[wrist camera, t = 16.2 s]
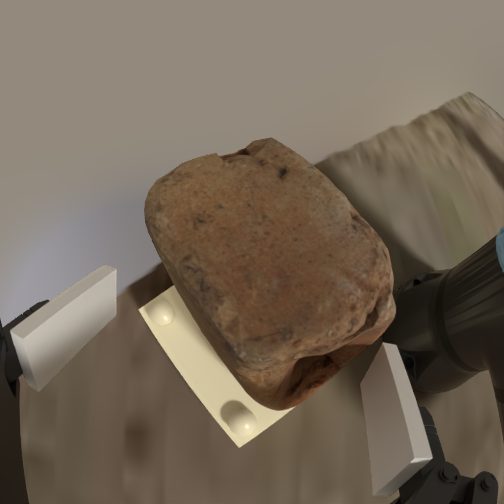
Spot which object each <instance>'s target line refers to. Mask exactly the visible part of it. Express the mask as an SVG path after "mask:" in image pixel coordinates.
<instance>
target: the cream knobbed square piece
mask: <svg viewBox="0 0 504 504" xmlns="http://www.w3.org/2000/svg"><path fill="white" fill-rule="evenodd" d="M139 311H140V313H141V315H142V316H143V318H144V320H145V321H146V323H147V324H148V326H149V328H150V329H151V331H152V332H153V334H154V335H155V337H156V338H157V340H158V341H159V343H160V344H161V346H162V347H163V349H164V350H165V352H166V353H167V355H168V356H169V358H170V359H171V361H172V362H173V364H174V365H175V366H176V368H177V369H178V371H179V372H180V373H181V375H182V376H183V378H184V379H185V380H186V382H187V383H188V385H189V386H190V387H191V389H192V390H193V391H194V393H195V394H196V395H197V397H198V398H199V399H200V401H201V402H202V403H203V404H204V406H205V407H206V408H207V410H208V411H209V412H210V413H211V415H212V416H213V417H214V418H215V420H216V421H217V422H218V423H219V424H220V426H221V427H222V428H223V429H224V431H225V432H226V433H227V434H228V435H229V437H230V438H231V439H232V440H233V441H234V442H235V444H236V445H237V446H238V447H241V446H242V445H244V444H245V443H247V442H248V441H250V440H251V439H253V438H254V437H255V436H257V435H258V434H260V433H261V432H262V431H264V430H265V429H267V428H268V427H269V426H271V425H272V424H273V423H275V422H276V421H277V420H279V419H280V418H281V417H283V416H284V415H285V414H286V413H288V412H289V411H290V410H292V409H293V408H294V407H293V408H290V409H287V410H282V411H276V410H271V409H269V408H266V407H264V406H262V405H260V404H259V403H257V402H256V401H255V400H253V399H252V398H251V397H250V396H249V395H248V394H247V393H246V392H245V390H244V389H243V388H242V386H241V385H240V384H239V383H238V381H237V380H236V379H235V377H234V376H233V375H232V374H231V373H230V371H229V370H228V368H227V367H226V365H225V364H224V363H223V361H222V360H221V359H220V357H219V356H218V355H217V353H216V352H215V350H214V349H213V347H212V346H211V344H210V343H209V342H208V340H207V339H206V337H205V336H204V335H203V333H202V332H201V330H200V328H199V326H198V325H197V323H196V322H195V320H194V319H193V317H192V315H191V313H190V312H189V310H188V309H187V307H186V305H185V303H184V302H183V300H182V298H181V296H180V295H179V293H178V292H177V290H176V288H175V286H174V285H173V286H172V287H170V288H169V289H168V290H166V291H165V292H163V293H162V294H160V295H159V296H157V297H156V298H154V299H153V300H152V301H150V302H149V303H147V304H146V305H144V306H143V307H141V308H140V309H139Z"/></svg>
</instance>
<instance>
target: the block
mask: <svg viewBox="0 0 504 504" xmlns="http://www.w3.org/2000/svg"><path fill="white" fill-rule="evenodd" d="M144 211H145V223H146V226H147V229H148V233H149V235H150V237H151V239H152V242H153V244H154V246H155V248H156V250H157V252H158V254H159V256H160V258H161V260H162V262H163V264H164V266H165V268H166V270H167V272H168V274H169V276H170V278H171V280H172V282H173V284H174V286H175V288H176V290H177V292H178V293H179V295H180V296H181V298H182V300H183V302H184V303H185V305H186V307H187V309H188V310H189V312H190V313H191V315H192V317H193V319H194V320H195V322H196V323H197V325H198V326H199V328H200V330H201V332H202V333H203V335H204V336H205V337H206V339H207V340H208V342H209V343H210V344H211V346H212V347H213V349H214V350H215V352H216V353H217V355H218V356H219V357H220V359H221V360H222V361H223V363H224V364H225V365H226V367H227V368H228V370H229V371H230V373H231V374H232V375H233V376H234V377H235V379H236V380H237V381H238V383H239V384H240V385H241V386H242V388H243V389H244V390H245V392H246V393H247V394H248V395H249V396H250V397H251V398H252V399H253V400H255V401H256V402H257V403H259V404H260V405H262V406H264V407H266V408H269V409H271V410H276V411H282V410H287V409H290V408H293V407H295V406H297V405H298V404H300V403H301V402H303V401H304V400H306V399H307V398H308V397H309V396H311V395H312V394H313V393H314V392H315V391H316V390H318V389H319V388H320V387H321V386H322V385H324V384H325V383H326V382H327V381H328V380H329V379H331V378H332V377H333V376H334V375H335V374H336V373H337V372H338V371H339V370H340V369H341V368H342V367H343V366H345V365H346V364H347V363H349V362H350V361H351V360H352V359H354V358H355V357H356V356H357V355H359V354H361V353H362V352H363V351H364V350H365V349H366V348H367V347H368V346H369V345H371V344H372V343H373V342H374V341H376V340H377V339H378V338H379V337H380V336H381V335H382V334H383V333H384V332H385V330H386V329H387V328H388V326H389V325H390V324H391V323H392V321H393V319H394V318H395V314H396V305H395V302H394V298H393V295H392V291H393V283H394V276H393V271H392V266H391V261H390V256H389V251H388V249H387V247H386V246H385V244H384V243H383V241H382V240H381V239H380V237H379V236H378V234H377V233H376V232H375V230H374V229H373V228H372V227H371V226H370V225H369V224H368V223H367V221H366V220H365V219H364V218H362V217H361V216H360V215H359V213H358V212H357V211H356V210H355V208H354V207H353V206H352V205H351V203H350V202H349V201H348V199H347V197H346V195H344V194H343V193H342V192H341V191H340V190H339V189H338V188H336V187H335V186H334V184H333V183H332V182H331V181H330V179H329V178H328V177H326V176H325V175H324V174H323V173H322V172H320V171H319V170H318V169H317V168H315V167H314V166H313V165H312V164H310V163H309V162H308V161H307V160H305V159H304V158H303V157H301V156H300V155H298V154H297V153H296V152H294V151H293V150H291V149H290V148H288V147H286V146H285V145H283V144H282V143H280V142H278V141H277V140H275V139H273V138H268V139H261V140H256V141H253V142H252V143H250V144H249V145H248V146H247V147H246V148H245V149H241V150H239V151H238V152H236V153H233V154H228V155H224V156H218V155H217V153H214V154H210V155H205V156H202V157H198V158H195V159H192V160H190V161H187V162H185V163H182V164H181V165H179V166H178V167H176V168H175V169H174V170H172V171H171V172H170V173H168V174H167V175H165V176H163V177H162V178H160V179H158V180H157V181H156V182H155V184H154V185H153V186H152V187H151V189H150V190H149V192H148V195H147V198H146V201H145V208H144Z"/></svg>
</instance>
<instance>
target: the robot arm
mask: <svg viewBox="0 0 504 504" xmlns="http://www.w3.org/2000/svg"><path fill="white" fill-rule="evenodd" d="M116 272H117V269H115V268H113V267H110V266H107V265H103V266H101V267H100V268H98V269H97V270H95V271H94V272H92V273H91V274H89V275H88V276H86V277H85V278H83V279H82V280H80V281H79V282H77V283H76V284H74V285H73V286H71V287H70V288H68V289H67V290H65V291H64V292H63V293H61V294H60V295H58V296H57V297H55V298H54V299H52V300H51V301H49V300H45V301H42V302H39V303H37V304H35V305H34V306H32V307H31V308H30V309H29V310H27V311H25V312H24V313H23V315H22V314H21V315H20V316H18V317H17V318H15V319H14V320H13V321H11V322H10V323H8V324H7V325H6V326H4V327H3V328H2V324H1V320H0V504H29V501H28V495H27V490H26V483H25V477H24V469H23V461H22V450H21V437H20V411H19V395H20V382H19V378H18V377H19V376H21V375H22V374H23V375H24V378H25V381H26V384H28V385H29V386H31V387H32V388H34V389H35V390H37V391H38V392H40V391H41V389H42V388H43V387H44V386H45V385H46V384H47V383H48V382H49V381H50V380H51V379H52V378H53V377H54V376H55V375H56V374H57V373H58V372H59V371H60V370H61V369H62V368H63V367H64V366H65V365H66V364H67V363H68V362H69V361H70V360H71V359H72V358H73V357H74V356H75V355H76V354H77V353H78V352H79V351H80V350H81V349H82V348H83V347H84V346H85V345H86V344H87V343H88V342H89V341H90V340H91V339H92V338H93V337H94V336H95V335H96V334H97V333H98V332H99V331H100V330H101V329H102V328H103V327H104V326H105V325H106V324H108V323H109V322H110V321H111V320H112V319H113V318H114V317H115V316H116ZM393 298H394V302H395V305H396V314H395V318H394V319H393V321H392V323H391V324H390V325H389V326H388V328H387V329H386V330H385V332H384V333H383V338H384V342H383V343H382V345H381V346H380V348H379V350H378V352H377V354H376V356H375V358H374V360H373V362H372V364H371V365H370V367H369V369H368V371H367V373H366V374H365V376H364V378H363V380H362V381H361V383H360V388H361V395H362V401H363V408H364V415H365V423H366V430H367V439H368V447H369V457H370V467H371V478H372V490H373V496H391V495H392V494H393V493H394V492H395V491H397V490H398V489H399V493H400V496H399V497H398V498H397V499H395V500H394V501H393V502H391V503H390V504H497V496H498V482H497V480H496V478H495V477H494V475H493V474H491V473H489V472H485V471H483V472H481V473H479V474H478V475H477V476H476V477H475V478H469V477H465V476H461V475H460V473H459V471H458V469H457V468H456V467H455V466H454V465H453V464H451V463H449V462H446V461H445V458H444V454H443V451H442V447H441V444H440V441H439V437H438V435H437V431H436V428H435V427H434V426H435V425H434V422H433V419H432V416H431V415H430V413H429V412H428V411H427V409H426V408H425V407H418V405H417V402H416V399H415V396H414V393H413V390H412V389H414V390H417V391H419V392H424V393H439V392H446V391H449V390H452V389H455V388H457V387H458V386H460V385H462V384H463V383H464V382H466V381H467V380H469V379H470V378H472V377H473V376H475V375H476V374H477V373H479V372H480V371H485V370H489V372H490V376H491V380H492V384H493V387H494V392H495V397H496V402H497V407H498V412H499V417H500V422H501V428H502V434H503V441H504V226H503V227H502V228H501V229H500V232H499V233H498V234H497V235H496V236H495V237H494V238H493V239H491V240H490V241H489V242H488V243H486V244H485V245H484V246H482V247H481V248H480V249H479V250H477V251H476V252H475V253H473V254H472V255H471V256H469V257H468V258H466V259H465V260H464V261H462V262H461V263H459V264H458V265H457V266H455V267H454V268H453V269H447V270H439V271H432V272H426V273H423V274H420V275H418V276H416V277H414V278H413V279H411V280H410V281H409V282H407V283H406V284H405V285H403V286H402V287H401V288H400V289H399V290H398V291H397V292H396V294H395V295H394V296H393Z"/></svg>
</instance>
